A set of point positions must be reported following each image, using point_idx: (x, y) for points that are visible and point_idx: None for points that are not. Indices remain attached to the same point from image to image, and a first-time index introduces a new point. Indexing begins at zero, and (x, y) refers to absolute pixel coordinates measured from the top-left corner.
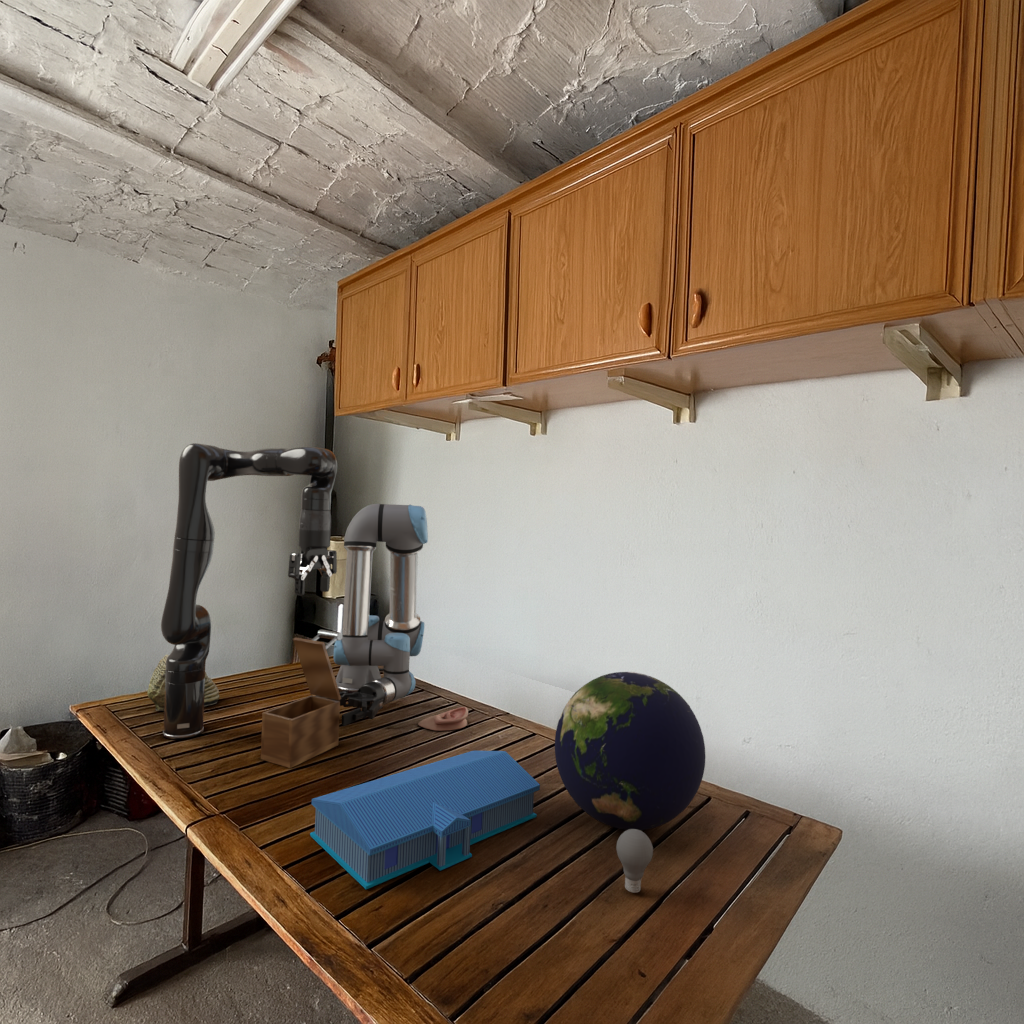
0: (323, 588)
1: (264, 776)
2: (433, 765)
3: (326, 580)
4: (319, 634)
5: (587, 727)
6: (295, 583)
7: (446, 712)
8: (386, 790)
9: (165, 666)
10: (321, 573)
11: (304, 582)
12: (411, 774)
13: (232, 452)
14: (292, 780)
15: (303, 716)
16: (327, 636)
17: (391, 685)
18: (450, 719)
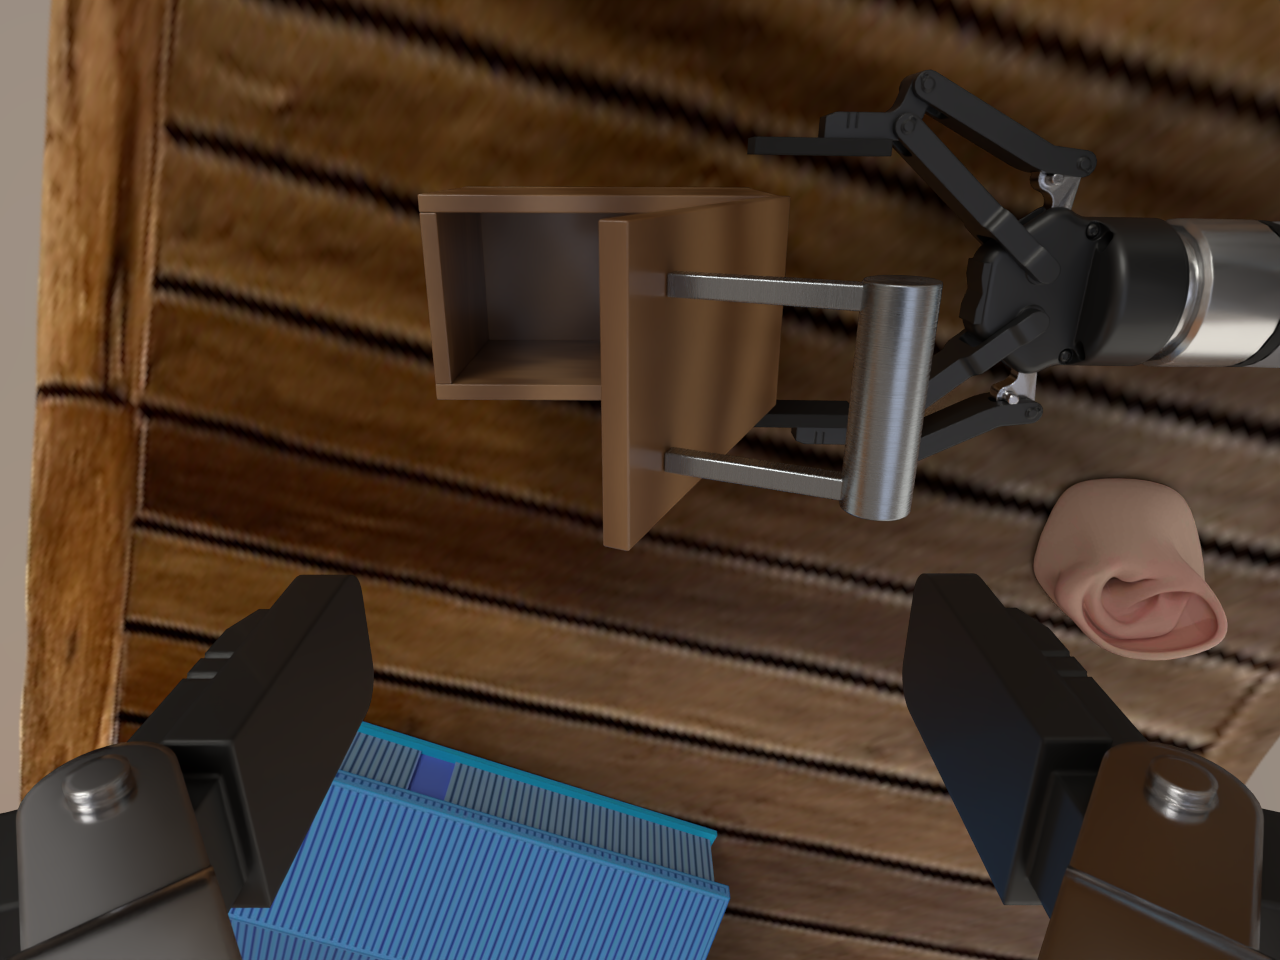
0: (927, 654)
1: (379, 322)
2: (542, 888)
3: (980, 825)
4: (860, 305)
5: None
6: (145, 738)
7: (1167, 577)
8: (275, 932)
9: None
10: (1084, 820)
11: (282, 866)
12: (435, 892)
13: None
14: (418, 425)
15: (509, 399)
16: (851, 398)
17: (1226, 361)
18: (1099, 620)
